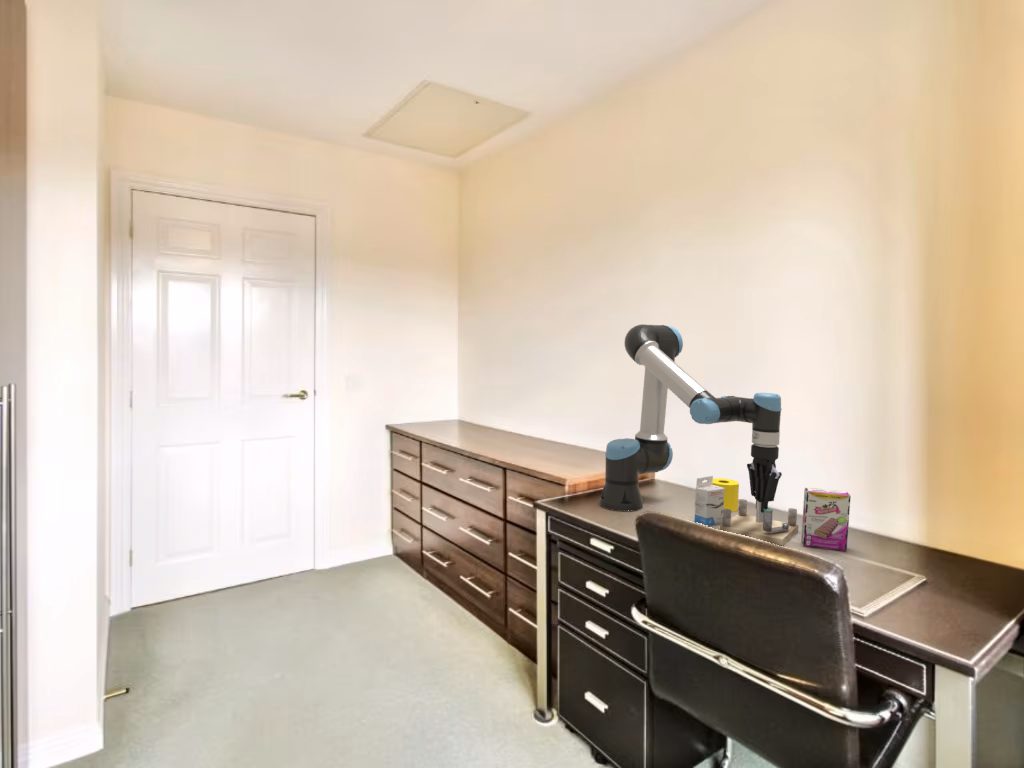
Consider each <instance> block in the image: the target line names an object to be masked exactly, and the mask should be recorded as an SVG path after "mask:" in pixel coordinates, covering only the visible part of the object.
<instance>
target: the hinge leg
mask: <svg viewBox="0 0 1024 768" xmlns="http://www.w3.org/2000/svg"><path fill="white" fill-rule="evenodd" d="M773 512H774V509H772V508H769V507H768V508H764V515H763V530H764V531H765V532H768V533H775V532H782V531H788V530H789V524H787V523H788V522H786V523H782V526H781V527H774V528H772V520H773Z"/></svg>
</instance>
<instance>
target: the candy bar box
mask: <svg viewBox="0 0 1024 768" xmlns="http://www.w3.org/2000/svg"><path fill="white" fill-rule="evenodd" d="M803 493H804V494H803V506H802V507H803V508H802V509H803V510H802V522H801V523H802V524H801V536H800V537H801V544H802V546H803V547H808V548H815V549H824V550H833V551H841V552H847V550H848V549H847V548H848V537H849V525H850V524H849V523H850V509H851V497H852V496H851V495H850V493H848V491H844V490H835V489H823V488H817V487H816V488H815V487H813V488H812V487H804V492H803Z"/></svg>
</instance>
